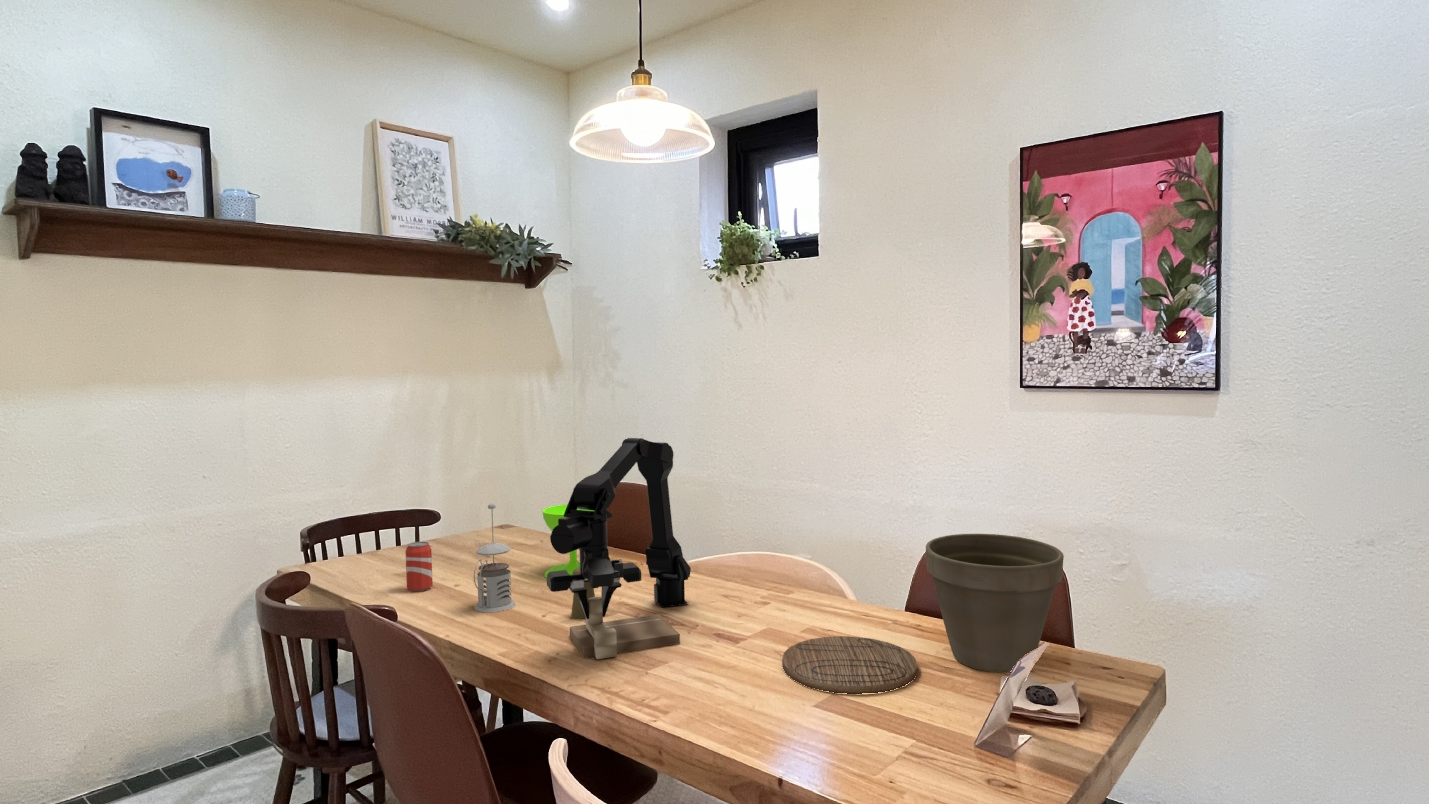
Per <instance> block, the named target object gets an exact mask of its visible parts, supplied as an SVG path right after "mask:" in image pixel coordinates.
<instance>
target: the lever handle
mask: <svg viewBox="0 0 1429 804" xmlns="http://www.w3.org/2000/svg"><path fill="white" fill-rule="evenodd" d="M588 610H589V619H585V625H586V628H587V630H588V631H589V632H590V634H591V635H592V637H593V638H594V652H595V657H594V658H595V659H596V660H603V659H607V658H614V657H618V653H617V639H616V630H615V629H614V628H611V629H606V627H605V626H604V625H603V624H602V623H603V622H604V617H603V606H602V598H601V596H600V597H599V596H595V597H591V598H589V599H588Z"/></svg>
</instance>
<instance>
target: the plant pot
mask: <svg viewBox="0 0 1429 804" xmlns="http://www.w3.org/2000/svg"><path fill="white" fill-rule="evenodd" d="M1064 558H1065V557H1064V553H1063V552H1062V551H1061V550H1060V549H1059V548H1057V547H1056V546H1054V545H1051V544H1048V543H1046V542H1044V541H1043V542H1042V541H1039V540H1036V539H1032V538H1028V537H1020V536H1015V535H1007V534H998V533H997V534H996V533H995V534H994V533H959V534H949V535H942V536H939V537H936V538H933V539H931V540H929V541H928V542H927V543H926V545H925V560H926V561H925V562H926V571H927V573H928V574H929V575H930V576H931V577H932V582H933V585H934V586H933V587H934V591H935V593H936V599H937V601H938V605H939V610H940V613H941V616H942V620H943V625H944V628H945V631H946V635H947V639H948V644H949V646H950V649H951V652H952V655H953V657H954V659H955V660H956V661H958V662H959V663H961V664H962V665H964V666H966V667H968V666H969V667H968V668H973V669H975V670H978V671H982V670H983V671H984V672H990V673H1003V674H1005V673H1011V672H1010V671H1011V670H1012V668H1013V666H1014V665H1015V664H1016V662H1017V661H1018V660H1019V659H1020V658H1022V657H1023V656H1024V655H1025V654H1027V653H1029V652H1030V651H1032V650H1034V649H1036V648H1038V649H1039V646H1040V642H1041V638H1042V634H1043V631H1044V628H1045V624H1046V621H1047V618H1048V614H1049V611H1050V608H1051V605H1052V600H1053V596H1054V592H1055V590H1056V586H1057V585H1059V584H1060V583H1061V582H1062V581H1063V570H1064Z"/></svg>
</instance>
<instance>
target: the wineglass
mask: <svg viewBox="0 0 1429 804" xmlns="http://www.w3.org/2000/svg"><path fill="white" fill-rule="evenodd" d="M567 505H568V504H561V505H554V506H553V505H552V506H549V507H546V508H543V509H542V511H541V512H542V517H543V520H544V522H545V524H546V526H547V528H548V529H549V530H550V531H551V532H552V531H553V529H554V528H555V527H556V526H557V525H558V519H560V518H567V517H564V513H565V510H566V508H567ZM577 510H581V509H578V508H577ZM586 511H593V510H586ZM577 550H578V549H577ZM577 550H575V551H572V552H569V561H568V563H564V564H558V565H555V566H553V567H550V568H548V569H547V570H546V571H545V572H544V578H545V577H546V578H545V579H547V574H548V573H549V572H553V571H561V570H566V571H567V572H568V574H572V573H573V571H574V569H576V568H578V567H580V562H579V561H578V557H577V555H578V554H577Z"/></svg>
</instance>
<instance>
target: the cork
mask: <svg viewBox="0 0 1429 804" xmlns="http://www.w3.org/2000/svg"><path fill="white" fill-rule="evenodd" d="M578 573H580V567H578V568H576V569H574V571H573V573H572V574H578ZM585 578H587V577H585ZM584 587H585V588H586V589H587V602H588V599H589V598H591V597H596V593H595V588H591V587H590V585H589V582H584ZM572 597H573V598H572V607H571V618H574V619H580V620H586V617H585V614H584V612H583V609H582V606H581V604H580V601H579V599H578V597H577V595H576V593H573V596H572Z"/></svg>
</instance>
